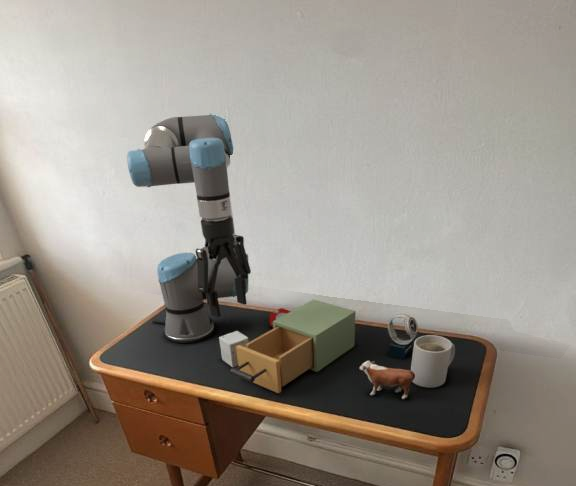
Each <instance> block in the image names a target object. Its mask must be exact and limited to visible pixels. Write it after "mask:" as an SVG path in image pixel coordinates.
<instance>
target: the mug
mask: <svg viewBox="0 0 576 486" xmlns="http://www.w3.org/2000/svg"><path fill="white" fill-rule="evenodd" d="M455 354H456V346H455V344H454V343H453V342H452V341H451V340H449V338H446V337H444V336H440V335H436V334H428V335H427V334H426V335H422V336H419V337H417V338H416V339H415V340H414V341H413V349H412V357H411V365H410V370H411V371H413V372H414V374H415V378H414V380H413V381H411V383H413V384H415V385H416V386H419V387H422V388H437V387H440V386H442V385H444V384H445V382H446V380H447V374H448V370H449V366H450V365H451V364H452V362H453V360H454V359H455Z"/></svg>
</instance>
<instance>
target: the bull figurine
mask: <svg viewBox="0 0 576 486" xmlns="http://www.w3.org/2000/svg"><path fill="white" fill-rule="evenodd" d="M359 370H360V371H363V372H364V373H365V374H366V375H367V378H368V381H370V383H371V384H373V387H372V391H371V392H370V393H369V396H371V397H372V396H375V395H376V391H377V392H380V391H382V390H383V388H382V386H387V387H390V388H393V387H394V386H398V388H396V389H395V390H394V393H397V394H398V393H400V392H402V389H403V391H404V393H403V395H402V396H401V400H405V399H406V398H408V396H409V392H410V391H411V389H410V385H411V384H412V381H413V380H414V378H415V374H414V372H413V371H411V369H402V368H391V367H387V366H384V365H378V364H376V360H372V361H370V360H366V361H364V362H363V363H362V364H361V365H360V366H359Z"/></svg>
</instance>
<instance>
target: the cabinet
mask: <svg viewBox="0 0 576 486" xmlns="http://www.w3.org/2000/svg"><path fill="white" fill-rule="evenodd" d="M290 311H291V312H289V313H287V314H285V315H284V316H282V317H280V318H278V319H276V320H274V321H273V328H272V329H274V328H276V327H277V326H279V327H282V328H285V329H288V330H291V331H294V332H297V333H300V334H303V335H306V336H309V337H312V338H313V342H314V366H312V367H311V368H310V369H308V370H309V371H312V372H315V373H318V372H320V371H321V370H322V369H323V368H325V367H326V366H328V365H329V364H331V363H332V362H333V361H336V359H338V358H339V357H341V356H342V355H344V354H346V353H347V352H348V351H349V350H351V349H352V348H354V347H355V340H356V339H355V336H356V313H357V312H356V310H354V309H350V308H346V307H343V306H339V305H336V304H332V303H330V302H329V303H328V302H326V301H321V300H318V299H314V298H313V299H310V300H309V301H307V302H306V303H303V304H302V305H300V306H298V307H296V308H294V309H293V310H290Z"/></svg>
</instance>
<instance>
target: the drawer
mask: <svg viewBox="0 0 576 486" xmlns="http://www.w3.org/2000/svg"><path fill="white" fill-rule="evenodd" d="M236 350H237V358H238V365H239V366H236V367H234V368H233V367H231V368H230V371H229V373H230V374H231V375H234V376H236V377H238V378H240V379H243V380H244V381H247V382H248V383H249V382H250V383H253V384H256V385H258V386H260V387H263V388H265V389H267V390H269V391H271V392H274V393H277V394H280V393H281V392H282V391H283V390H282V387H284V386H286V385H288V384H289V383H290V382H292V381H293V380H295V379H297V378H298V377H299V376H301V375H303V374H304V373H305V372H307V371H308V370H309V369H310V368H311V367H312V366H314V342H313V338H312V337H309V336H306V335H303V334H300V333H297V332H294V331H291V330H288V329H285V328H282V327H279V326H277V327H276V328H274V329H273V328H272V329H270V330H268V331H267V332H265V333H263V334H261V335H260V336H258V337H256V338H254V339H253V340H250V341H249V343H247V344H246V347H243V346H241V345H238V346H236Z"/></svg>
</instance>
